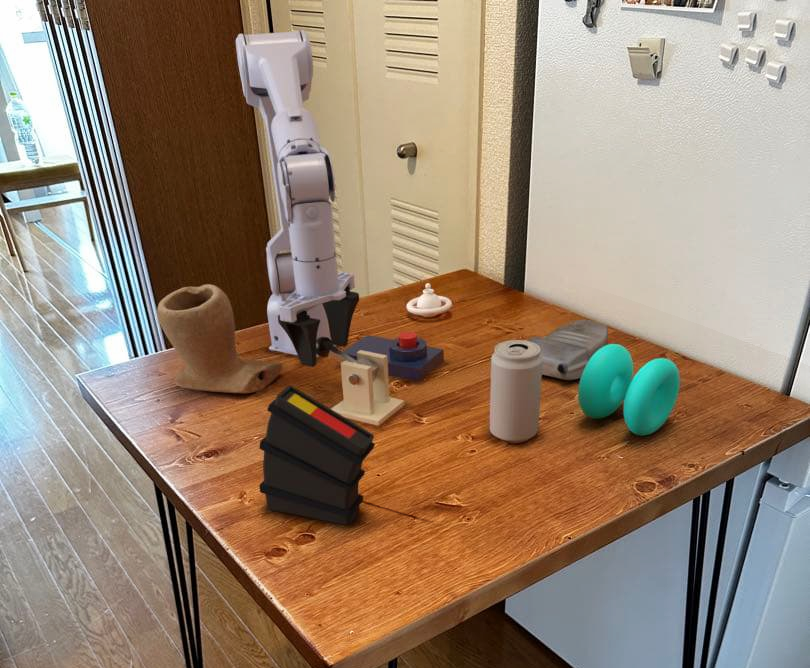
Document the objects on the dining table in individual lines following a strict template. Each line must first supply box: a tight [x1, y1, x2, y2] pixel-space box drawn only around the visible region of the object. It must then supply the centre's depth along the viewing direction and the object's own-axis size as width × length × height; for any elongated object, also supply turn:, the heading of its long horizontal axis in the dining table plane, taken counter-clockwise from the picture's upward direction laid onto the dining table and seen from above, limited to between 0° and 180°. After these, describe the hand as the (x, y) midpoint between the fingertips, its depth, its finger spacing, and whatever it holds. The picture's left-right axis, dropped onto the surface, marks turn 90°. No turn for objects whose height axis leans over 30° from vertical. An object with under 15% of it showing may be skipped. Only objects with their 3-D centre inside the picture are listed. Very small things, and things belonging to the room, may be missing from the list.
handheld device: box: [527, 319, 609, 381], centre depth 123 cm, size 10×20×5 cm, turn 146°
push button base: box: [341, 334, 445, 382], centre depth 124 cm, size 14×8×4 cm, turn 60°
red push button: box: [397, 331, 418, 348], centre depth 122 cm, size 3×3×2 cm
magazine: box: [258, 384, 376, 526], centre depth 90 cm, size 4×13×15 cm, turn 69°
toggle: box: [316, 337, 379, 382], centre depth 110 cm, size 10×3×3 cm, turn 59°
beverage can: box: [489, 339, 543, 444], centre depth 103 cm, size 6×6×12 cm
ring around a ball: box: [406, 282, 453, 318], centre depth 140 cm, size 8×6×8 cm
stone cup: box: [156, 283, 284, 394], centre depth 117 cm, size 15×12×15 cm
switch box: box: [330, 350, 405, 427], centre depth 111 cm, size 8×7×8 cm
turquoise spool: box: [577, 343, 681, 436], centre depth 104 cm, size 10×10×10 cm
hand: (324, 354), depth 112 cm, fingers open, 7 cm apart
